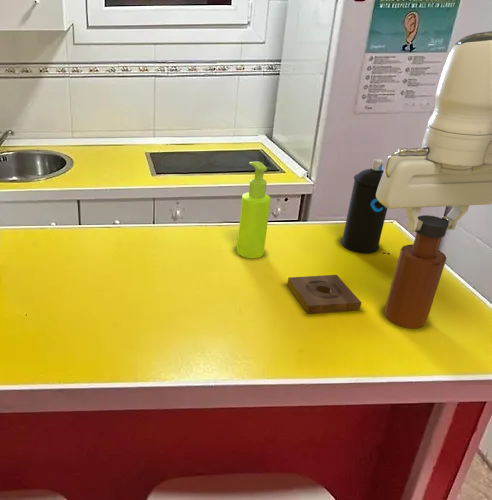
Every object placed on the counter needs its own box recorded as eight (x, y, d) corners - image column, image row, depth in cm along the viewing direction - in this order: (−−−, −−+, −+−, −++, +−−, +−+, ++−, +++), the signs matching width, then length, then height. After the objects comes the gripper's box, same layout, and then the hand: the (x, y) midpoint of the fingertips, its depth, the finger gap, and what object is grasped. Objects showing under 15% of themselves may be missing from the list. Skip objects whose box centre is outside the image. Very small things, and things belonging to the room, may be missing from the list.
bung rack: (335, 282, 104) (336, 274, 103) (359, 310, 95) (361, 302, 94) (287, 285, 103) (288, 277, 102) (307, 314, 94) (309, 305, 93)
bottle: (411, 305, 96) (436, 222, 89) (434, 327, 91) (462, 240, 83) (377, 307, 96) (398, 224, 88) (397, 330, 90) (422, 242, 82)
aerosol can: (333, 244, 119) (350, 159, 109) (351, 233, 124) (368, 152, 114) (368, 257, 113) (389, 169, 104) (385, 245, 118) (406, 160, 109)
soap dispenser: (256, 243, 119) (266, 158, 110) (267, 257, 113) (279, 169, 104) (231, 244, 118) (239, 160, 109) (241, 259, 112) (251, 170, 103)
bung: (430, 236, 88) (436, 214, 87) (447, 248, 84) (454, 226, 83) (405, 237, 88) (411, 215, 86) (421, 249, 84) (427, 227, 82)
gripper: (402, 155, 75) (380, 240, 81) (531, 151, 77) (500, 234, 83) (379, 142, 80) (360, 224, 87) (499, 139, 83) (473, 218, 89)
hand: (430, 229), depth 85 cm, fingers closed on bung, 4 cm apart
